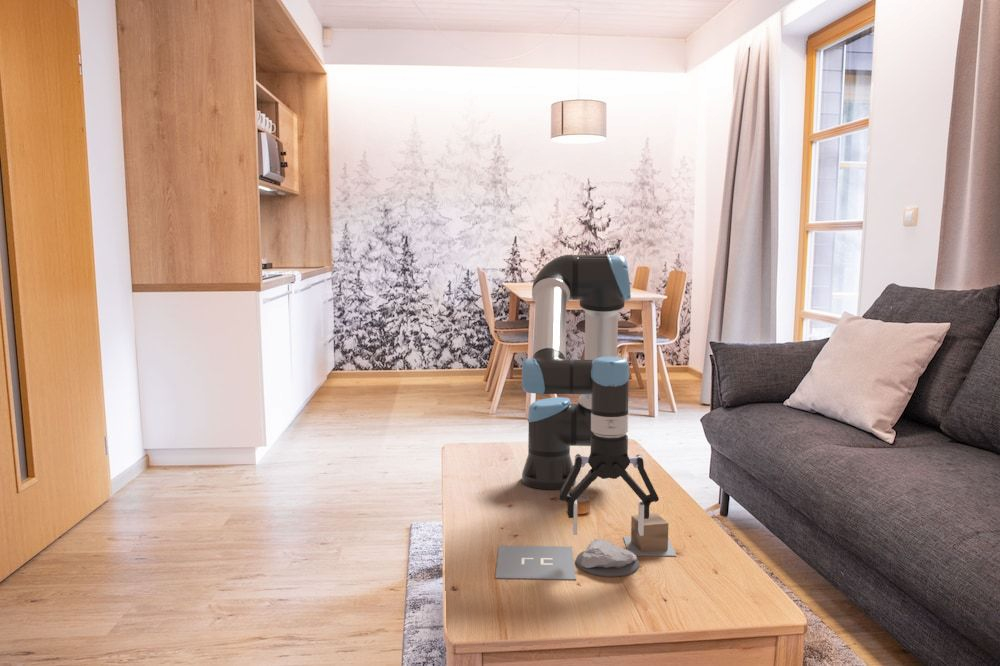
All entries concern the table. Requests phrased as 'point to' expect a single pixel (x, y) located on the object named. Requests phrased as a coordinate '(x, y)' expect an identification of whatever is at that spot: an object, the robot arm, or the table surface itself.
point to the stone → (606, 555)
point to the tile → (637, 552)
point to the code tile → (535, 562)
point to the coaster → (609, 569)
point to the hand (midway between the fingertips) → (607, 532)
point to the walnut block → (650, 534)
